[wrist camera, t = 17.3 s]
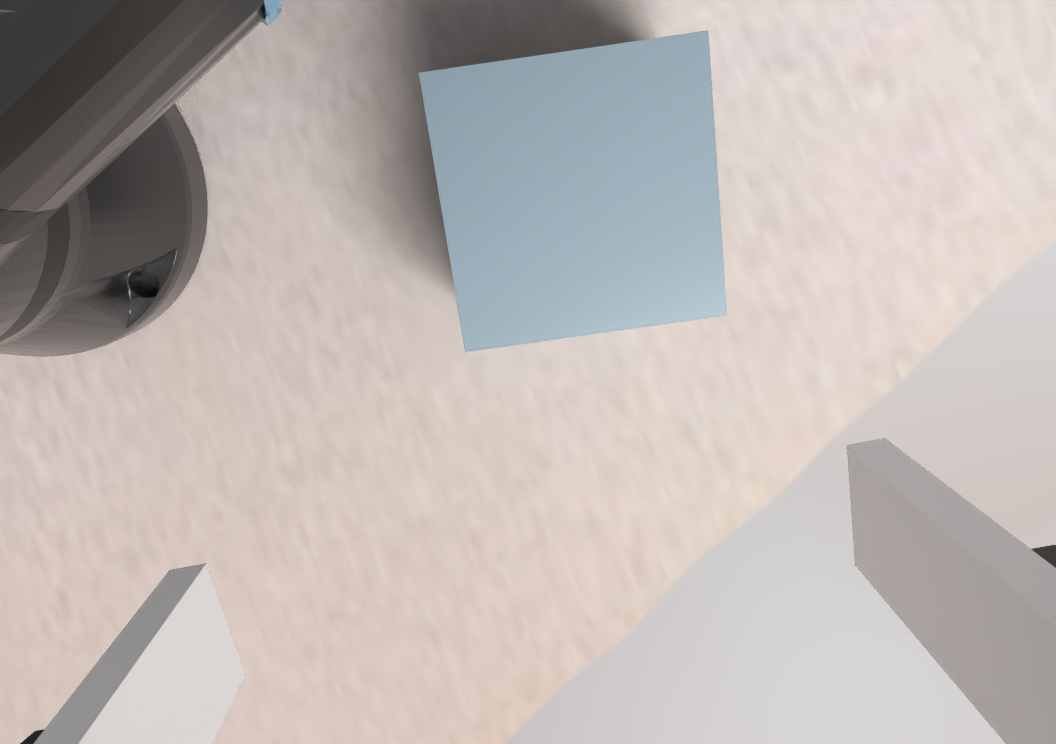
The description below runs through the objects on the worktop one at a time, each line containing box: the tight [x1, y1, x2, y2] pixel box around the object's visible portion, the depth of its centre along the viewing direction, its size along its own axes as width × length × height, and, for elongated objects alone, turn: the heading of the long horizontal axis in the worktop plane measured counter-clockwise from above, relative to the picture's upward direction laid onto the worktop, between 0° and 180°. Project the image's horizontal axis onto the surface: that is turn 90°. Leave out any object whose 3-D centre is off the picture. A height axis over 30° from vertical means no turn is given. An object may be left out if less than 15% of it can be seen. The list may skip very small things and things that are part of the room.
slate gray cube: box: [419, 31, 727, 352], centre depth 32 cm, size 10×10×9 cm
